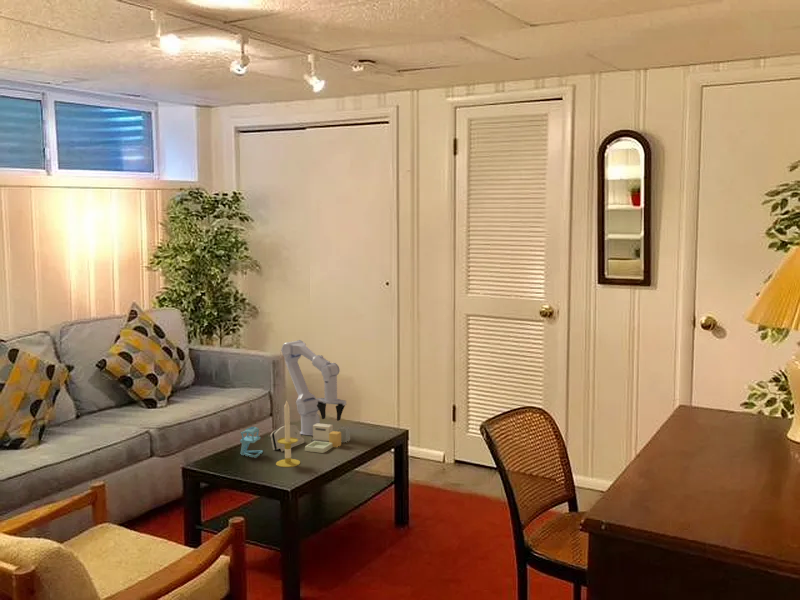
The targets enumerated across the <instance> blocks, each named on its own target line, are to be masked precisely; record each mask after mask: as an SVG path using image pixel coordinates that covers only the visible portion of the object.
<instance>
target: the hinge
mask: <svg viewBox="0 0 800 600" xmlns="http://www.w3.org/2000/svg"><path fill="white" fill-rule="evenodd" d="M301 435H302V434H300V430H299V427H298V425H296V424H290V437H292V438H297V439H298V441H297V442H296V443H293V444H291V449H292V448H293V447H297V446H299V445H301V444H304V443H305V442H306V441H305V438H304V437H302V436H301ZM280 438H285V425H282V426H280V427H278V428H276V429H274V431H272V432H271V433H270V441H271V447H272V450H273V451H276V450H279V449H280V452H285V444H280V443H278V442H277V440H278V439H280Z"/></svg>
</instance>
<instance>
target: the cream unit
mask: <svg viewBox="0 0 800 600" xmlns="http://www.w3.org/2000/svg"><path fill="white" fill-rule="evenodd" d="M332 431H334V424H331V423H330V424H329V423H328V424H327V423H321V422H320V423H317V424H315V425H313V435H312V439H311V440H310V441H311V442H310V443H312V442H313V441H321V442H329V433H331V432H332Z"/></svg>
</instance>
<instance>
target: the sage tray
mask: <svg viewBox="0 0 800 600" xmlns="http://www.w3.org/2000/svg"><path fill="white" fill-rule="evenodd" d="M333 448H334V447H333V443H330V442H321V441H313V442H310V443H308V444H307V445H305V446H304V451H305V452H311V453H319V454H324V453H326V452H328V451H329V450H331V449H333Z"/></svg>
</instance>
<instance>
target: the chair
mask: <svg viewBox="0 0 800 600" xmlns="http://www.w3.org/2000/svg"><path fill="white" fill-rule="evenodd" d="M259 432H260V428H258V427H256V426H251V427H248V428H245V430H243V431H240V436H241V439H240V440H239V443H241V448H240V454H241V455H240V456H244V455H245V456H244V457H248V456H249V457H250V458H253V457H254V459H257V458H258V457H259V456H261V455H262V454H263V453H264V451H263V450H262V449H260V450H248V448H249V446H250V444H255V443H256V442H257V441H260V439H261V436H259ZM244 434H246V436H244ZM255 435H256V436H255ZM260 454H261V455H260ZM249 457H248V458H249Z"/></svg>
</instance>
